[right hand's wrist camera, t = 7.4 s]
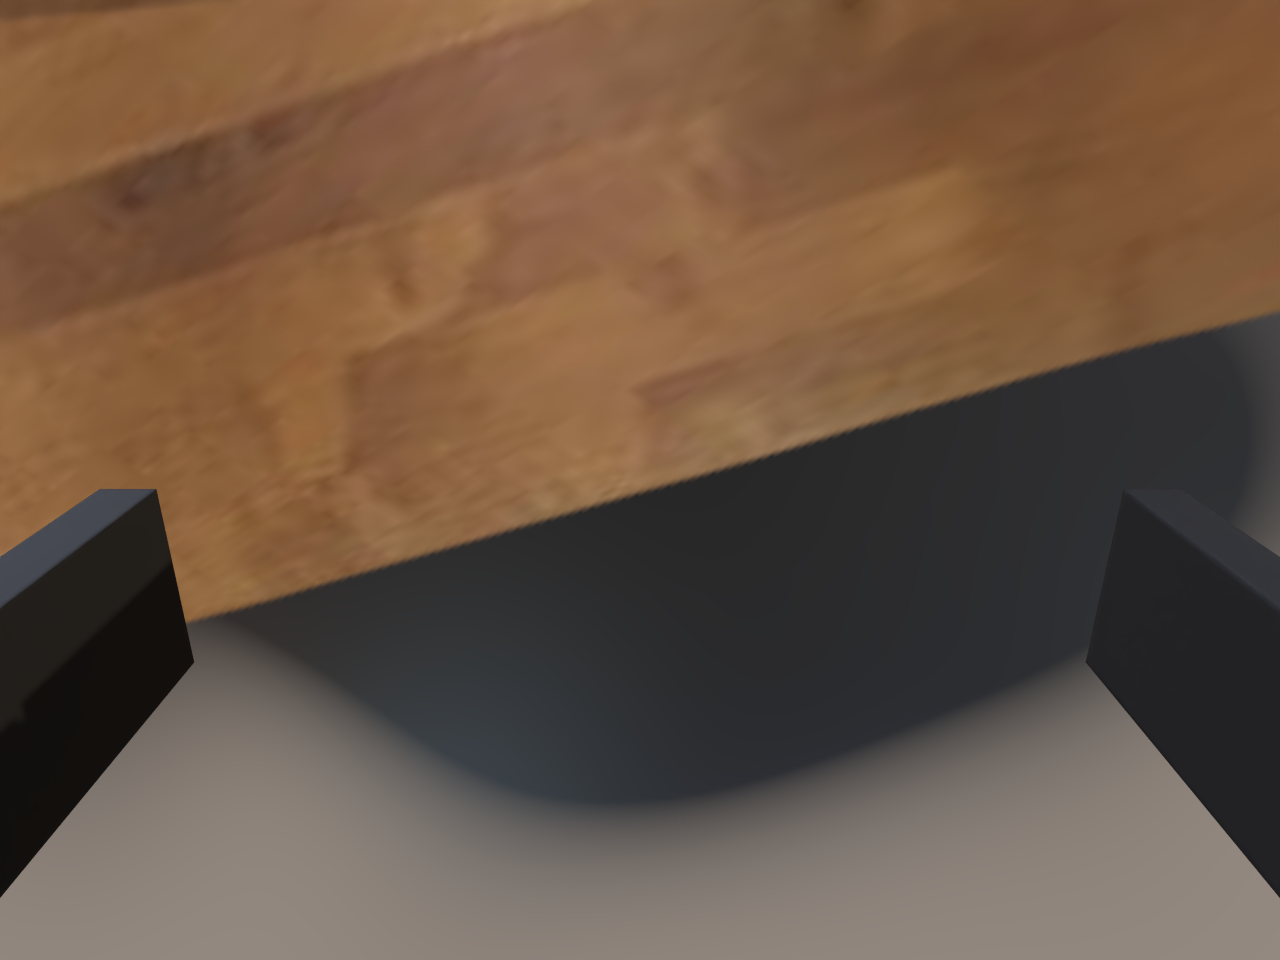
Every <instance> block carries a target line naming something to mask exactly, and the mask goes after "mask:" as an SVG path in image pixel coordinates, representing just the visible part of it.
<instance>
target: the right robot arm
mask: <svg viewBox="0 0 1280 960" xmlns="http://www.w3.org/2000/svg"><path fill="white" fill-rule="evenodd" d="M193 663H194V659H193V655H192V650H191V646H190V641H189V636H188V632H187V627H186V623H185V618H184V614H183V609H182V604H181V600H180V595H179V591H178V586H177V582H176V577H175V573H174V568H173V563H172V559H171V554H170V550H169V545H168V541H167V536H166V531H165V527H164V522H163V518H162V513H161V509H160V504H159V499H158V495H157V490H156V489H99V490H98V491H96V492H95V493H94V494H92V495H91V496H89V497H88V498H86V499H85V500H83V501H82V502H80V503H79V504H77V505H76V506H74V507H73V508H72V509H70V510H69V511H67V512H66V513H64V514H63V515H61V516H60V517H58V518H57V519H55V520H54V521H52V522H51V523H50V524H48V525H47V526H45V527H44V528H42V529H41V530H39V531H38V532H36V533H35V534H33V535H32V536H30V537H29V538H28V539H26V540H25V541H23V542H22V543H20V544H19V545H17V546H16V547H14V548H13V549H11V550H10V551H8V552H7V553H6V554H4V555H3V556H1V557H0V897H1V896H2V895H3V894H4V893H5V891H6V890H7V889H8V888H9V886H10V885H11V884H12V883H13V882H14V880H15V879H16V878H17V877H18V875H19V874H20V873H21V872H22V871H23V869H24V868H25V867H26V866H27V865H28V863H29V862H30V861H31V860H32V858H33V857H34V856H35V855H36V854H37V852H38V851H39V850H40V849H41V848H42V846H43V845H44V844H45V843H46V842H47V840H48V839H49V838H50V837H51V835H52V834H53V833H54V832H55V831H56V829H57V828H58V827H59V826H60V825H61V823H62V822H63V821H64V820H65V818H66V817H67V816H68V815H69V814H70V812H71V811H72V810H73V809H74V808H75V806H76V805H77V804H78V803H79V801H80V800H81V799H82V798H83V797H84V795H85V794H86V793H87V792H88V791H89V789H90V788H91V787H92V786H93V784H94V783H95V782H96V781H97V780H98V778H99V777H100V776H101V775H102V773H103V772H104V771H105V770H106V769H107V767H108V766H109V765H110V764H111V763H112V761H113V760H114V759H115V758H116V757H117V755H118V754H119V753H120V752H121V750H122V749H123V748H124V747H125V746H126V744H127V743H128V742H129V741H130V740H131V738H132V737H133V736H134V735H135V733H136V732H137V731H138V730H139V729H140V727H141V726H142V725H143V724H144V723H145V721H146V720H147V719H148V718H149V716H150V715H151V714H152V713H153V712H154V710H155V709H156V708H157V707H158V706H159V704H160V703H161V702H162V701H163V699H164V698H165V697H166V696H167V695H168V693H169V692H170V691H171V690H172V689H173V687H174V686H175V685H176V684H177V682H178V681H179V680H180V679H181V678H182V676H183V675H184V674H185V673H186V672H187V670H188V669H189V668H190V667H191V665H192V664H193ZM1086 663H1087V664H1088V665H1089V667H1090V668H1091V669H1092V670H1093V672H1094V673H1095V674H1096V675H1097V676H1098V678H1099V679H1100V680H1101V681H1102V682H1103V684H1104V685H1105V686H1106V687H1107V689H1108V690H1109V691H1110V692H1111V693H1112V695H1113V696H1114V697H1115V698H1116V699H1117V701H1118V702H1119V703H1120V704H1121V706H1122V707H1123V708H1124V709H1125V710H1126V712H1127V713H1128V714H1129V715H1130V716H1131V718H1132V719H1133V720H1134V721H1135V723H1136V724H1137V725H1138V726H1139V727H1140V729H1141V730H1142V731H1143V732H1144V733H1145V735H1146V736H1147V737H1148V738H1149V740H1150V741H1151V742H1152V743H1153V744H1154V746H1155V747H1156V748H1157V749H1158V750H1159V752H1160V753H1161V754H1162V755H1163V757H1164V758H1165V759H1166V760H1167V761H1168V763H1169V764H1170V765H1171V766H1172V767H1173V769H1174V770H1175V771H1176V772H1177V774H1178V775H1179V776H1180V777H1181V778H1182V780H1183V781H1184V782H1185V783H1186V784H1187V786H1188V787H1189V788H1190V789H1191V791H1192V792H1193V793H1194V794H1195V795H1196V797H1197V798H1198V799H1199V800H1200V801H1201V803H1202V804H1203V805H1204V806H1205V808H1206V809H1207V810H1208V811H1209V812H1210V814H1211V815H1212V816H1213V817H1214V818H1215V820H1216V821H1217V822H1218V823H1219V825H1220V826H1221V827H1222V828H1223V829H1224V831H1225V832H1226V833H1227V834H1228V835H1229V837H1230V838H1231V839H1232V840H1233V842H1234V843H1235V844H1236V845H1237V846H1238V848H1239V849H1240V850H1241V851H1242V852H1243V854H1244V855H1245V856H1246V857H1247V859H1248V860H1249V861H1250V862H1251V863H1252V865H1253V866H1254V867H1255V868H1256V869H1257V871H1258V872H1259V873H1260V874H1261V876H1262V877H1263V878H1264V879H1265V880H1266V882H1267V883H1268V884H1269V885H1270V886H1271V888H1272V889H1273V890H1274V891H1275V893H1276V894H1277V895H1278V896H1279V897H1280V557H1279V556H1277V555H1276V554H1274V553H1273V552H1272V551H1270V550H1269V549H1267V548H1266V547H1264V546H1263V545H1261V544H1260V543H1258V542H1257V541H1255V540H1254V539H1252V538H1251V537H1249V536H1248V535H1247V534H1245V533H1244V532H1242V531H1241V530H1239V529H1238V528H1236V527H1235V526H1233V525H1232V524H1230V523H1229V522H1228V521H1226V520H1225V519H1223V518H1222V517H1220V516H1219V515H1217V514H1216V513H1214V512H1213V511H1211V510H1210V509H1208V508H1207V507H1206V506H1204V505H1203V504H1201V503H1200V502H1198V501H1197V500H1195V499H1194V498H1192V497H1191V496H1189V495H1188V494H1186V493H1185V492H1184V491H1182V490H1181V489H1124V490H1123V495H1122V499H1121V504H1120V509H1119V513H1118V518H1117V522H1116V527H1115V531H1114V536H1113V541H1112V545H1111V550H1110V554H1109V559H1108V563H1107V568H1106V573H1105V577H1104V582H1103V586H1102V591H1101V595H1100V600H1099V605H1098V609H1097V614H1096V618H1095V623H1094V627H1093V632H1092V637H1091V641H1090V646H1089V650H1088V655H1087V659H1086Z"/></svg>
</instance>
